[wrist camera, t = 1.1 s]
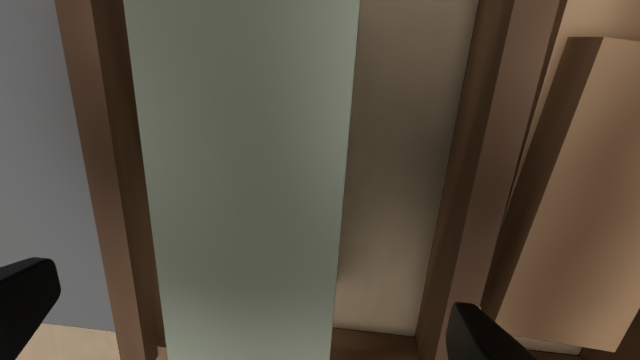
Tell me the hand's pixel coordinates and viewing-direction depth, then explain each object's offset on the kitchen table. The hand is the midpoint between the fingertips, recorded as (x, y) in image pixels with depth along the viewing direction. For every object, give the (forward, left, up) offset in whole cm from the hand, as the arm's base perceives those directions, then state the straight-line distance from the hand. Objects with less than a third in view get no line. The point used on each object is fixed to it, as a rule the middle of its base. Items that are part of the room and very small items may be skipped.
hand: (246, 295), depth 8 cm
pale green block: (0, 0, -9) cm, 9 cm away
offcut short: (-11, 0, -8) cm, 13 cm away
